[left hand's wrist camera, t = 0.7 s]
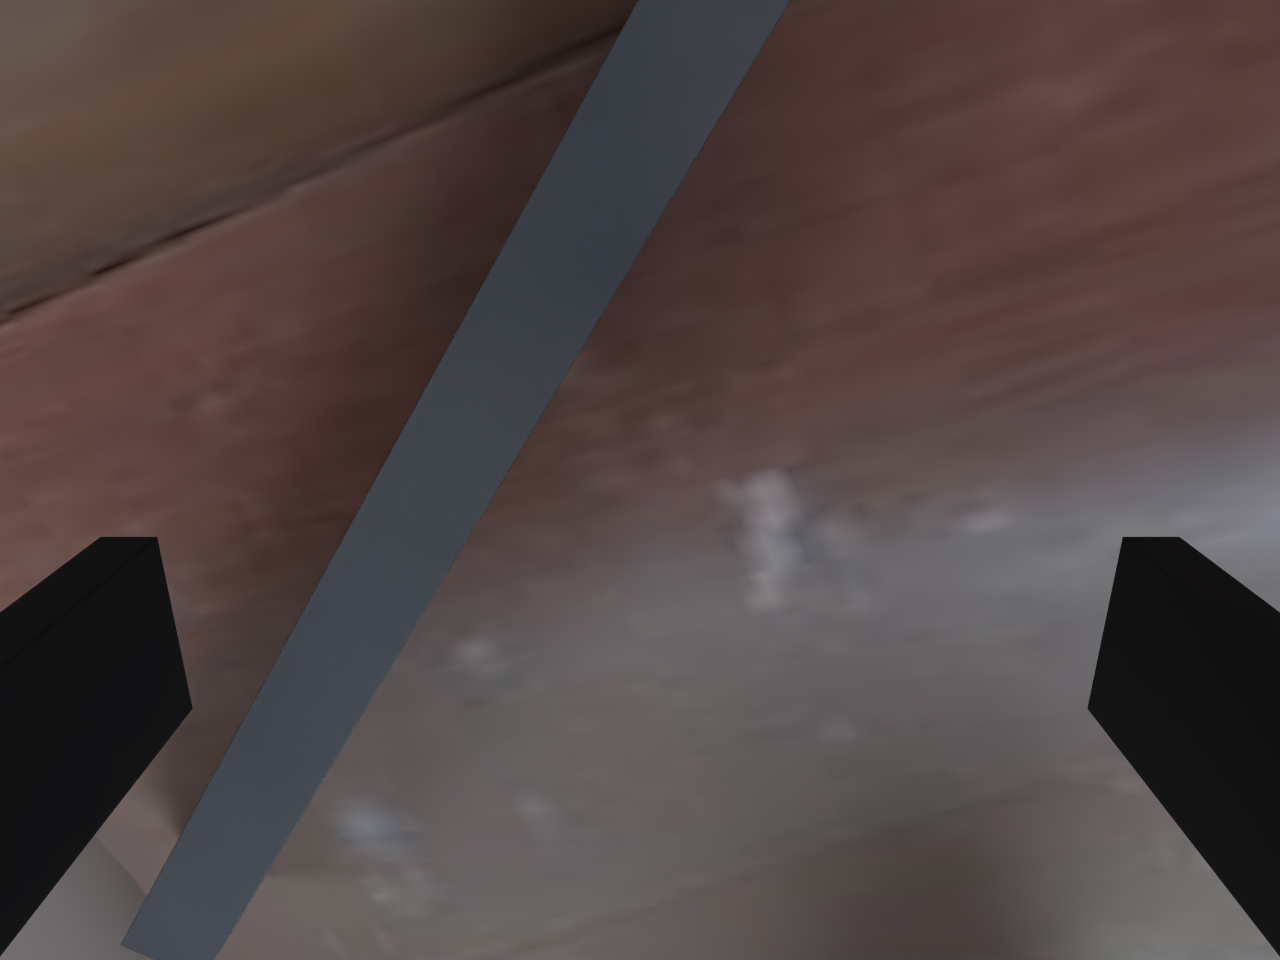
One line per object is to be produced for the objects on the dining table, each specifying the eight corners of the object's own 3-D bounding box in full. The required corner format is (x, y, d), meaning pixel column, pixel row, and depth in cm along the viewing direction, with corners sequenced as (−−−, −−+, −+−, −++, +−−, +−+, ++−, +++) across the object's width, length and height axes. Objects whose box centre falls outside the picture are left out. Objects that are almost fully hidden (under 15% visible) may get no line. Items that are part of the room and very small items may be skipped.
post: (858, -375, 37) (911, -500, 30) (955, -296, 38) (1029, -399, 30) (184, 845, 58) (120, 945, 51) (256, 877, 59) (202, 980, 52)
